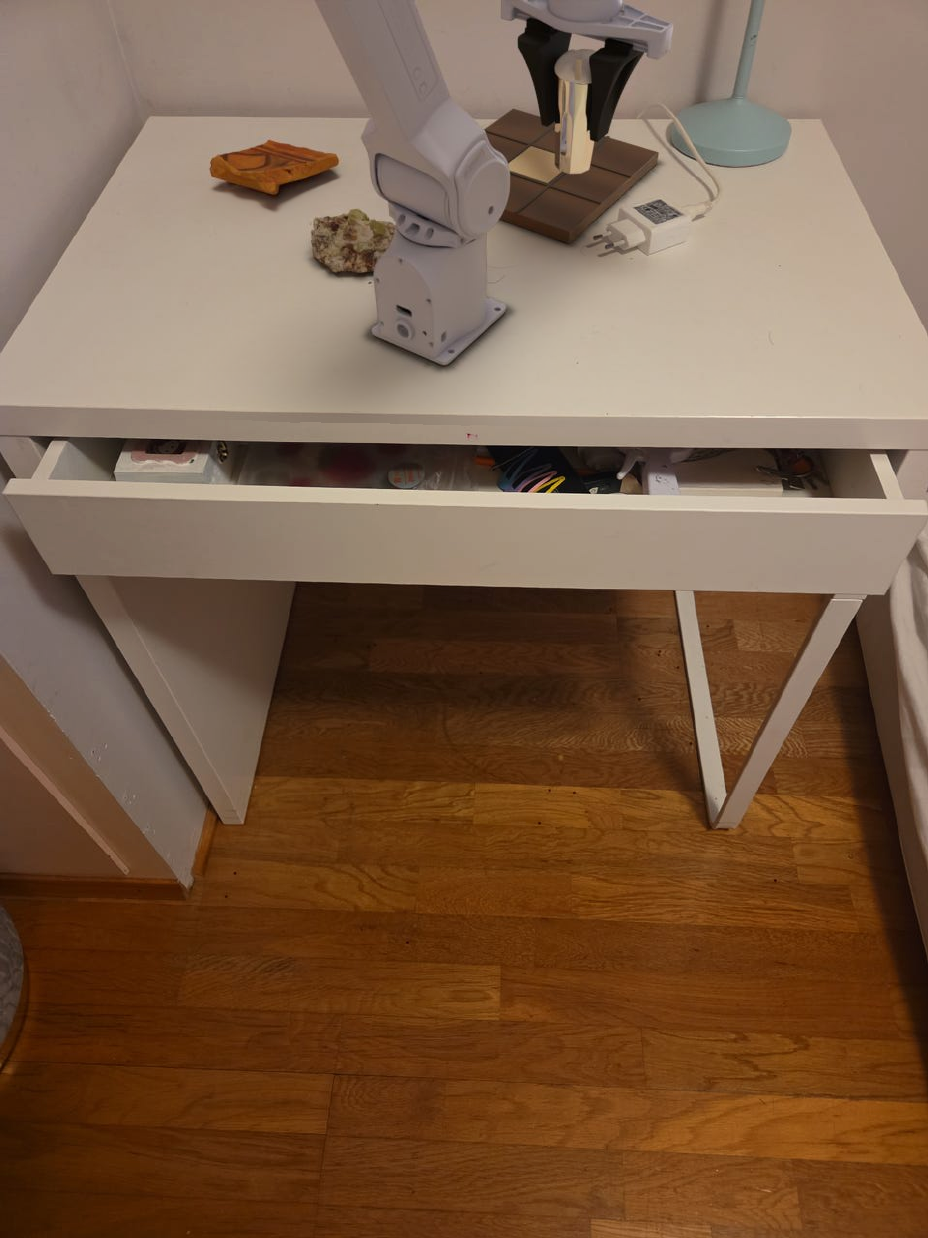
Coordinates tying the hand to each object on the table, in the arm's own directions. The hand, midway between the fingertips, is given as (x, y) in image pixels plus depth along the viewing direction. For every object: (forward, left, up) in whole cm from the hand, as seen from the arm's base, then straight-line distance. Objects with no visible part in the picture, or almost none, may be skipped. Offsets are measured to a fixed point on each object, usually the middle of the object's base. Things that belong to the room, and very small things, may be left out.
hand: (574, 128), depth 76 cm
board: (+8, +8, -10) cm, 15 cm away
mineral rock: (-13, +14, -10) cm, 22 cm away
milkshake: (0, 0, -4) cm, 4 cm away
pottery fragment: (-7, +30, -10) cm, 33 cm away
